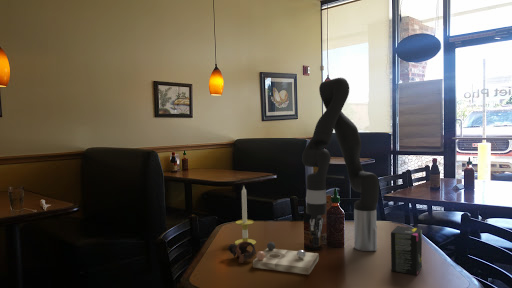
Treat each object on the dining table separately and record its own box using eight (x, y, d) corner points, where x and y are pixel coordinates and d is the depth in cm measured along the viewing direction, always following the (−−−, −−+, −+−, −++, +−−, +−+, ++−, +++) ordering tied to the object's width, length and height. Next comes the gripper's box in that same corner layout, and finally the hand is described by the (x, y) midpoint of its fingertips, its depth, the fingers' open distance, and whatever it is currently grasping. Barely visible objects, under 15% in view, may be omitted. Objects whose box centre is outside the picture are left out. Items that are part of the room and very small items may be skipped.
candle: (251, 247, 174) (250, 187, 173) (231, 245, 178) (229, 186, 176) (259, 240, 184) (257, 183, 182) (239, 238, 187) (237, 183, 185)
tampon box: (417, 276, 138) (417, 235, 137) (390, 271, 143) (390, 232, 142) (422, 266, 147) (422, 227, 146) (397, 261, 152) (397, 224, 151)
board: (318, 259, 157) (318, 253, 156) (308, 274, 142) (308, 267, 142) (267, 253, 165) (267, 248, 165) (253, 267, 150) (252, 260, 150)
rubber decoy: (276, 249, 163) (276, 241, 163) (273, 251, 160) (273, 243, 159) (268, 248, 164) (268, 240, 164) (266, 251, 161) (265, 242, 161)
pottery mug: (257, 255, 164) (259, 242, 160) (250, 273, 156) (253, 259, 152) (230, 247, 166) (231, 234, 162) (222, 264, 158) (224, 250, 154)
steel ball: (306, 257, 152) (306, 249, 152) (304, 260, 149) (304, 252, 148) (298, 256, 153) (298, 248, 153) (295, 259, 150) (295, 251, 150)
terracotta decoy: (266, 258, 152) (266, 250, 151) (263, 261, 149) (263, 253, 148) (258, 257, 153) (258, 249, 153) (255, 260, 150) (254, 252, 150)
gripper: (321, 205, 140) (321, 252, 141) (329, 198, 152) (329, 242, 153) (301, 203, 143) (301, 250, 144) (310, 197, 155) (310, 240, 156)
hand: (316, 246), depth 148 cm, fingers closed
